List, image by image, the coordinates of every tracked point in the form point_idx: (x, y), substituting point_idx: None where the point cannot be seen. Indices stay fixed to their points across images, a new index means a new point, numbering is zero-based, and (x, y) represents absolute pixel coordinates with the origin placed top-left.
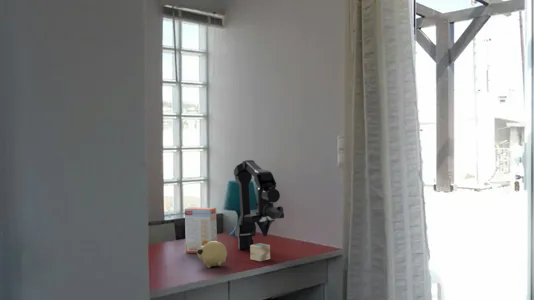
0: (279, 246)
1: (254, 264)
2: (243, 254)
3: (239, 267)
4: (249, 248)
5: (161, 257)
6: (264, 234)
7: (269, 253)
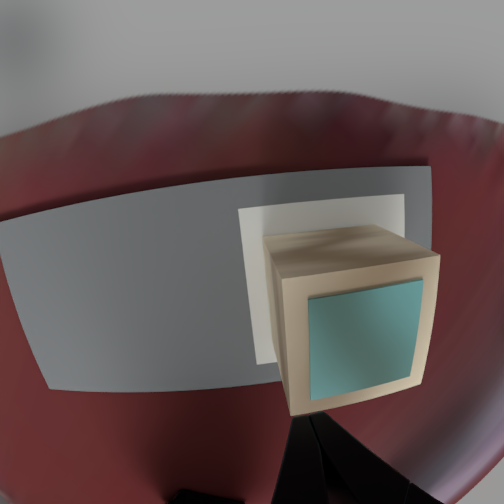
0: (36, 452)
1: (429, 197)
2: (283, 455)
3: (500, 209)
4: (194, 500)
5: (473, 480)
6: (341, 434)
7: (275, 248)
